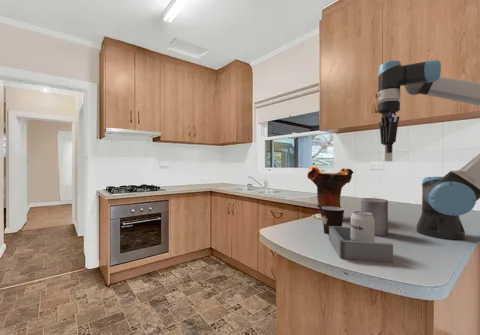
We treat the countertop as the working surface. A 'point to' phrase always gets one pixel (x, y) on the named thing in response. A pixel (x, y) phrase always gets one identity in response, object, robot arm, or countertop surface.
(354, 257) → the box
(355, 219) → the beverage can
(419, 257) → the countertop surface
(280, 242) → the countertop surface
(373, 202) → the pillar candle
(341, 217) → the coffee mug
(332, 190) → the decorative vase
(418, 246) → the countertop surface
